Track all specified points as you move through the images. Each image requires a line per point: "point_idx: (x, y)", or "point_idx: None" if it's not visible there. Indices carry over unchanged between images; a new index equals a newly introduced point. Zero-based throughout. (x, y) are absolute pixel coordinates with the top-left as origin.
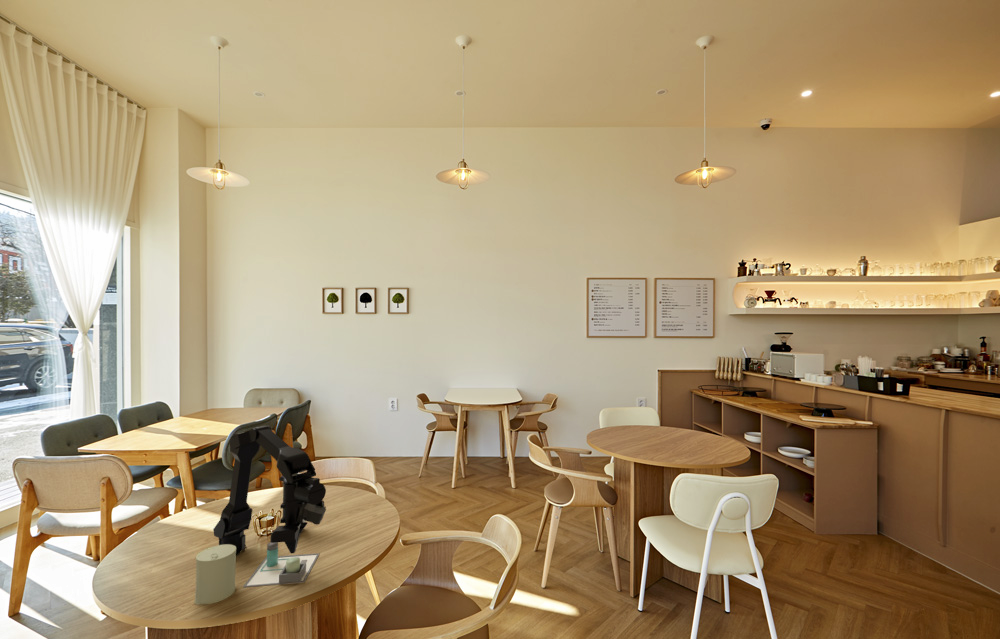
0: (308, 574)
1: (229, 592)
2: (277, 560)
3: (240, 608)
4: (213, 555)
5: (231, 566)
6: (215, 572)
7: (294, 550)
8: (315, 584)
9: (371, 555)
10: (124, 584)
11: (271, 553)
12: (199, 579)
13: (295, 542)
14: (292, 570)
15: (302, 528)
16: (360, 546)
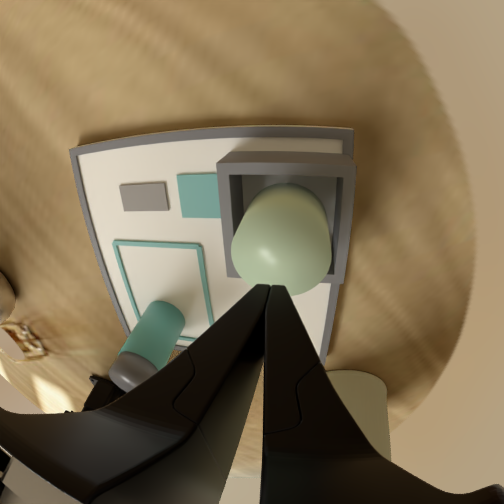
0: (267, 126)
1: (367, 387)
2: (156, 311)
3: (441, 330)
4: None
5: None
6: None
7: (291, 301)
8: (361, 67)
9: None
10: (246, 470)
11: (163, 359)
12: None
13: (325, 372)
14: (327, 224)
15: (136, 482)
16: (30, 11)
